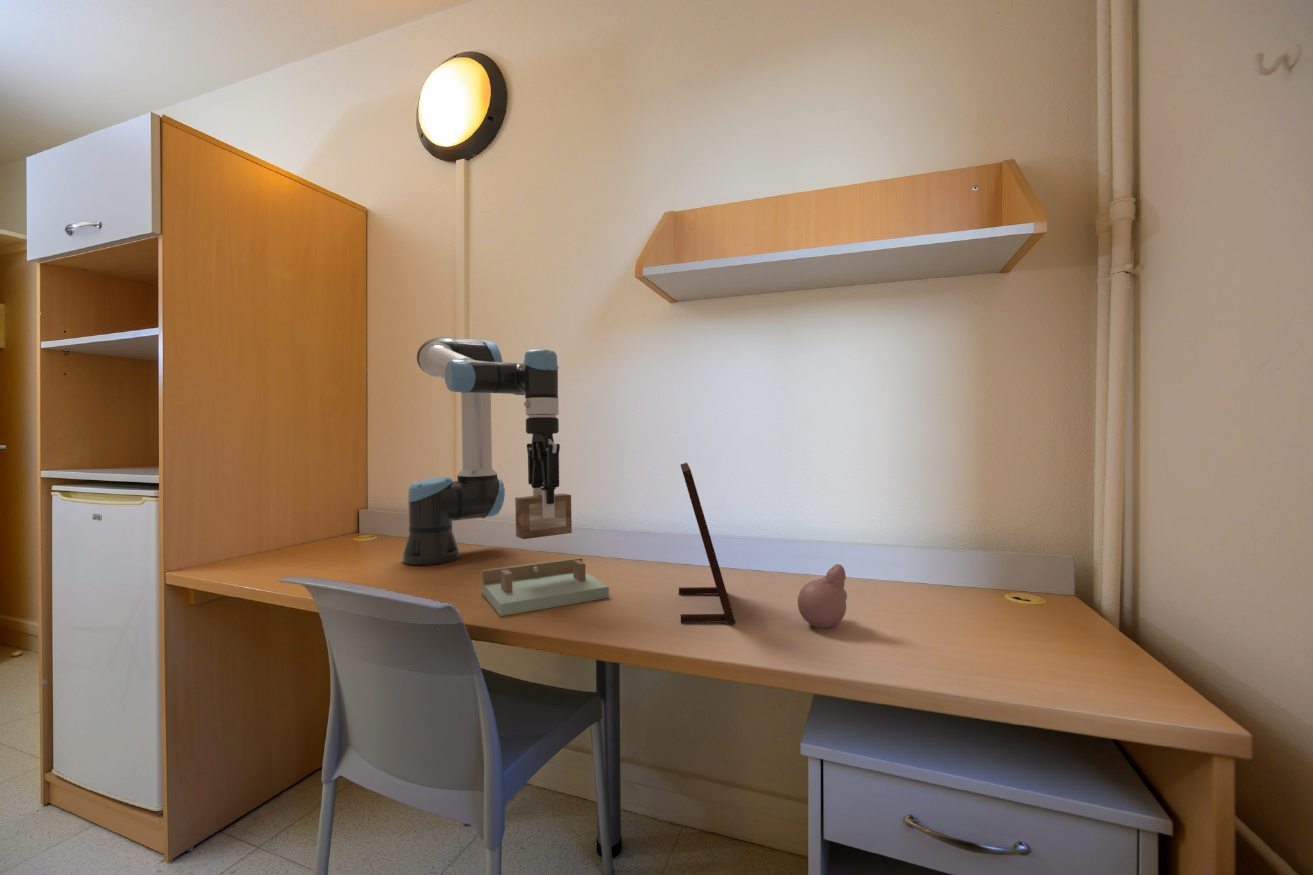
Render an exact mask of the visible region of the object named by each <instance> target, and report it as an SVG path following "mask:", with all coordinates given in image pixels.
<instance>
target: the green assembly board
mask: <svg viewBox="0 0 1313 875" xmlns="http://www.w3.org/2000/svg"><path fill="white" fill-rule="evenodd" d="M481 577H482V578H481V580H482V581H481V594H482V595H483V596H484V598H485V599H486V600H487V601H488V602H489V604H490V605H491V607H492V608H493V609H494V610H495V611H496V612H497V614H498V615H499V616H500V617H505V616H509V615H510V616H511V615H516V614H521V613H527V612H532V611H533V612H534V611H539V610H546V609H550V608H556V607H563V606H569V605H574V604H580V603H586V602H591V601H598V600H603V599H609V597H610V590H609V589H610V587H609V585H607V584H605V583H603V582H601V581H600V580H598V579H597V578H595V577H594V576H592V575H591V574H589V573H587V572H586V563H585V562H583V558H582V557H580V556H579V557H571V558H564V559H555V560H548V561H541V562H539V561H538V562H534V563H525V564H518V565H511V566H502V567H494V568H486V569H482V570H481Z"/></svg>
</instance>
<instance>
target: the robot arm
mask: <svg viewBox="0 0 1313 875" xmlns="http://www.w3.org/2000/svg"><path fill="white" fill-rule="evenodd" d="M416 361H417V365H418V367H419V368H420V370H422V371H423V372H424V373H425V374H427V375H429V376H431V377H438V378H439V377H440V378H441V379H443V380H444V383H445V385H446V388H447V389H448V391H450V392H452V393H453V392H454V393H460V397H461V399H460V400H461V401H460V402H461V404H460V405H461V406H460V407H461V408H460V409H461V452H462V454H461V455H462V456H461V460H462V461H461V462H462V464H461V465H462V469H461V470H460V471H459V472H458V473H457V474H456V475H457V478H456V479H457V480H456V481H454V480H452V478H451V477H450V476H440V477H432V478H426V479H422V480H418V481H415V482H413V483H411V484H410V485H409V487H408V497H407V502H408V536H407V541H406V544H405V546H404V550H403V552H402V563H403V564H406V565H411V566H428V565H431V566H432V565H438V564H439V565H440V564H444V563H445V564H446V563H448V562H453V561H455V560H457V559H459V557H460V549H459V546H458V543H457V541H456V538H455V536H454V533H453V522H454V521H463V520H465V521H466V520H474V519H485V518H489V517H495V516H497V515H498V514H499V513H500V512H501V511H502V508H503V506H504V501H505V495H506V490H505V488H506V487H505V486H504V485H505V484H504V481H503V480H502V478H499V477H498V472H497V471H495V469H493V456H492V455H493V452H492V451H493V450H492V449H493V448H492V394H504V395H505V394H507V395H508V394H509V395H510V394H511V395H516V396H524V397H525V398H524V399H525V402H524V403H523V405H524V407H525V416H528V417H526V419H525V432H526V434H529V435H532V437H531V443H526V450H527V476H528V477H527V478H528V480H527V481H528V482H527V483H528V485H531V488H532V496H539V495H542V515H543V519H546V518H555V499H554V494H555V490H556V488H559V487H560V449H561V448H560V447H561V445H560V443H555V442H554V435H553V434H558V433H559V431H560V430H559V419H558V417H557V416H559V413H560V412H559V365H558V355H557V353H556V352H555V351H553V350H551V349H528V350H527V351H526V352H525V354H524V360H523V362H522V363H520V362H519V363H518V362H503V356H502V354H501V350H500V349H499V347H498V345H497V344H496V342H492V341H489V340H484V339H476V338H475V339H472V338H461V337H460V338H459V337H458V338H457V337H449V336H444V337H443V336H442V337H434V338H431V339H429V340H427V341H425V342H423V344H421V345H420V346H419V348H418V350H417V353H416Z"/></svg>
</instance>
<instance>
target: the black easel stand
mask: <svg viewBox="0 0 1313 875" xmlns="http://www.w3.org/2000/svg"><path fill="white" fill-rule="evenodd" d="M679 465H680V468H681V472H682V476H683V478H684V482H685V484H686V485H685V486H686V488H687V491H688V496H689V500H690V502H691V506H692V509H693V512H694V513H693V514H694V516H695V520H696V522H697V526H698V530H699V534H700V536H701V540H702V544H703V546H704V549H705V553H706V557H707V559H708V563H709V568H710V571H711V573H712V577H713V581H714V584H715V586H714V587H713V586H711V587H710V586H709V587H708V586H707V587H706V586H705V587H704V586H702V587H700V586H699V587H696V586H695V587H690V586H689V587H688V586H687V587H678V595H701V594H702V595H703V594H704V595H705V594H707V595H709V594H710V595H716V594H717V595H718V599H719V601H720V605H721V608H722V611H723V613H695V614H694V613H686V614H685V613H681V614H680V623H703V622H705V623H707V622H708V623H714V622H715V623H716V622H717V623H718V622H721V623H722V622H723V623H724V622H726V625H727V626H730V625H732V624H736V620H735V617H734V614H733V610H732V607H731V603H730V600H729V599H730V598H729V596H728V592H727V589H726V586H725V582H724V579H723V576H722V572H721V568H720V565H719V563H718V562H719V561H718V558H717V556H716V550H715V549H714V545H713V542H712V538H711V535H710V530H709V528H708V524H707V520H706V518H705V515H704V510H703V507H702V504H701V500H700V496H699V494H698V490H697V486H696V484H695V480H694V476H693V474H692V473H693V472H692V470H691V468H690V465H689V464H688V462H684V463H681V464H679Z"/></svg>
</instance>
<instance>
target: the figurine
mask: <svg viewBox="0 0 1313 875" xmlns="http://www.w3.org/2000/svg"><path fill="white" fill-rule="evenodd" d="M846 579H847V576H846V571H845V567H844V566H842V564H838V563H836V564H834V565H833V566H832V567H831V568H830V569H828V571H827V572H826V575H825V576H823V578H818V579H814V580H811V581H809V582H807V583H806V584H805V585H803V587H801V589H800V591H799V594H798V596H797V607H798V610H799V613H800V615H801V617H802V619H803V620H804V621H806V622H807V623H808V624H809V625H811V626H813V627H815V628H817V629H818V628H819V629H829V628H833V627H835V626H836V625H838V624H839V623H840V622H841V621H842V620H843V619H844V616H845V615H846V612H847V598H848V595H847V594H848V593H847V590H845V589H844V588H845V581H846Z"/></svg>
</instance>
